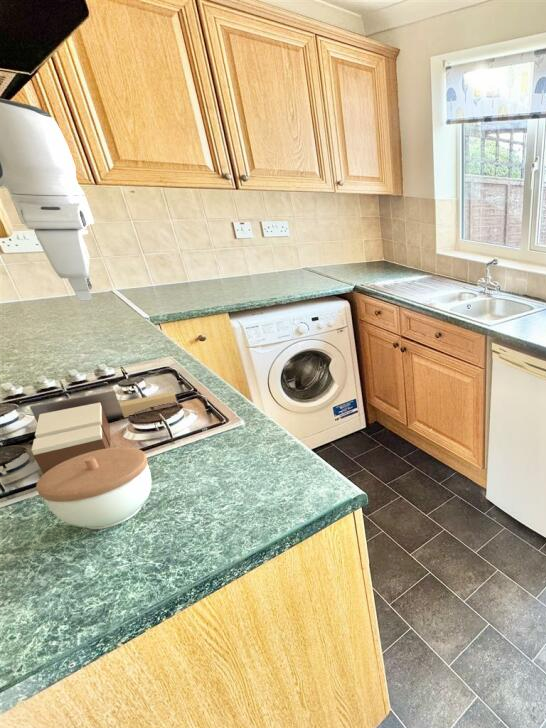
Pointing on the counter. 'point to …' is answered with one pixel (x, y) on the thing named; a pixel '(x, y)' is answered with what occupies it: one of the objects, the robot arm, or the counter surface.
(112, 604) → the counter surface
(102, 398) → the cleaver
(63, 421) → the cake
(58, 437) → the cake slice
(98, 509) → the lidded bowl
